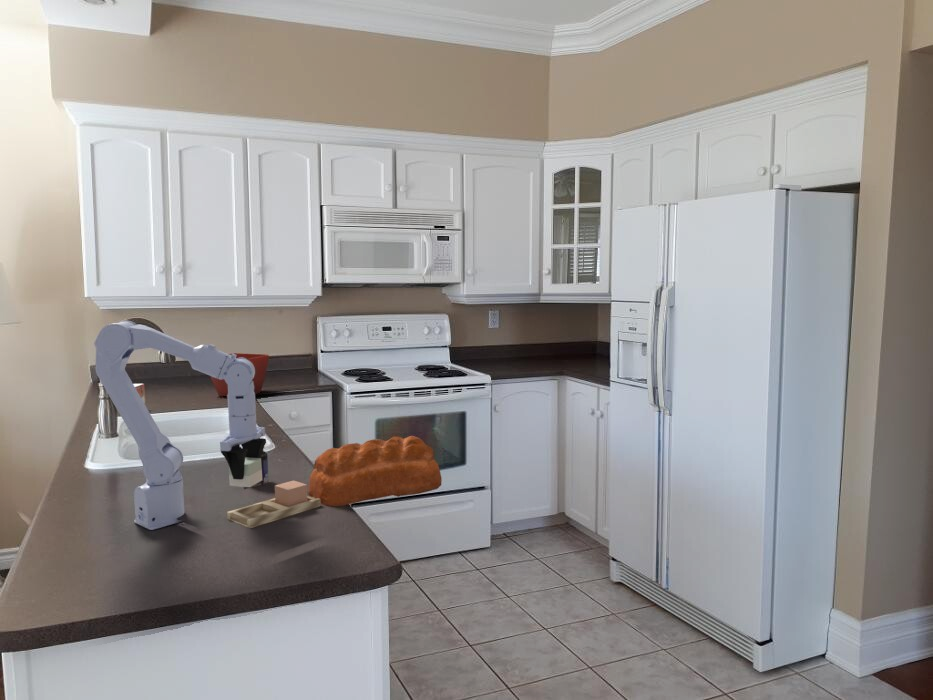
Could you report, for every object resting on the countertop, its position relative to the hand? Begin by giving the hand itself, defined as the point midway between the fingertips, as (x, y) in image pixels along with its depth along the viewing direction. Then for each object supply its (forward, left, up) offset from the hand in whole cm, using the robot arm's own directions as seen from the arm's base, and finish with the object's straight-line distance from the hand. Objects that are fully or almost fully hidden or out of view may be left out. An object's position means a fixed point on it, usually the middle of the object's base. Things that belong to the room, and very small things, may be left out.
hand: (245, 475), depth 160 cm
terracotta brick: (+7, -6, -8) cm, 12 cm away
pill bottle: (+13, +17, -9) cm, 23 cm away
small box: (+38, +138, -9) cm, 143 cm away
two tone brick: (0, 0, -2) cm, 2 cm away
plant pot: (+84, +139, -9) cm, 162 cm away
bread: (+29, -10, -9) cm, 32 cm away
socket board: (+3, -6, -9) cm, 11 cm away
